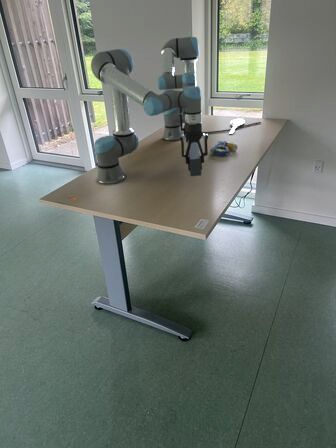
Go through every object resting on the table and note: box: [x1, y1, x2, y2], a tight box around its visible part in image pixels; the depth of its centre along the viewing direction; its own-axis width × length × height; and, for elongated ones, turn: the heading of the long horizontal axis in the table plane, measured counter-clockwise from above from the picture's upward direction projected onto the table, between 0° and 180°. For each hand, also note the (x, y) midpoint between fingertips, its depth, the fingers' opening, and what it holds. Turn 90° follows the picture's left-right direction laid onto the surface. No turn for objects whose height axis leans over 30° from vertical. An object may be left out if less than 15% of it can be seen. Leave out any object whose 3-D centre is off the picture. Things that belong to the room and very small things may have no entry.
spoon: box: [228, 118, 245, 135], centre depth 259 cm, size 35×11×2 cm, turn 159°
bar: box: [186, 140, 202, 177], centre depth 184 cm, size 60×5×8 cm, turn 179°
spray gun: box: [209, 140, 238, 157], centre depth 214 cm, size 21×4×15 cm
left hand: (195, 169), depth 166 cm, fingers closed on bar, 5 cm apart
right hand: (191, 140), depth 206 cm, fingers closed on bar, 5 cm apart
